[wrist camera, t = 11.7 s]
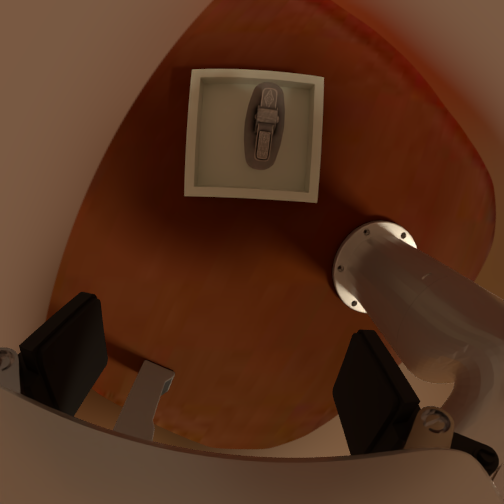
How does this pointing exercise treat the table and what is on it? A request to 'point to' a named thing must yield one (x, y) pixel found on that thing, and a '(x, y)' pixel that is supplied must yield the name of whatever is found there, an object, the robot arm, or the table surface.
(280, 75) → the tray
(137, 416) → the vintage mobile phone
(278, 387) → the table surface
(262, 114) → the lighter
